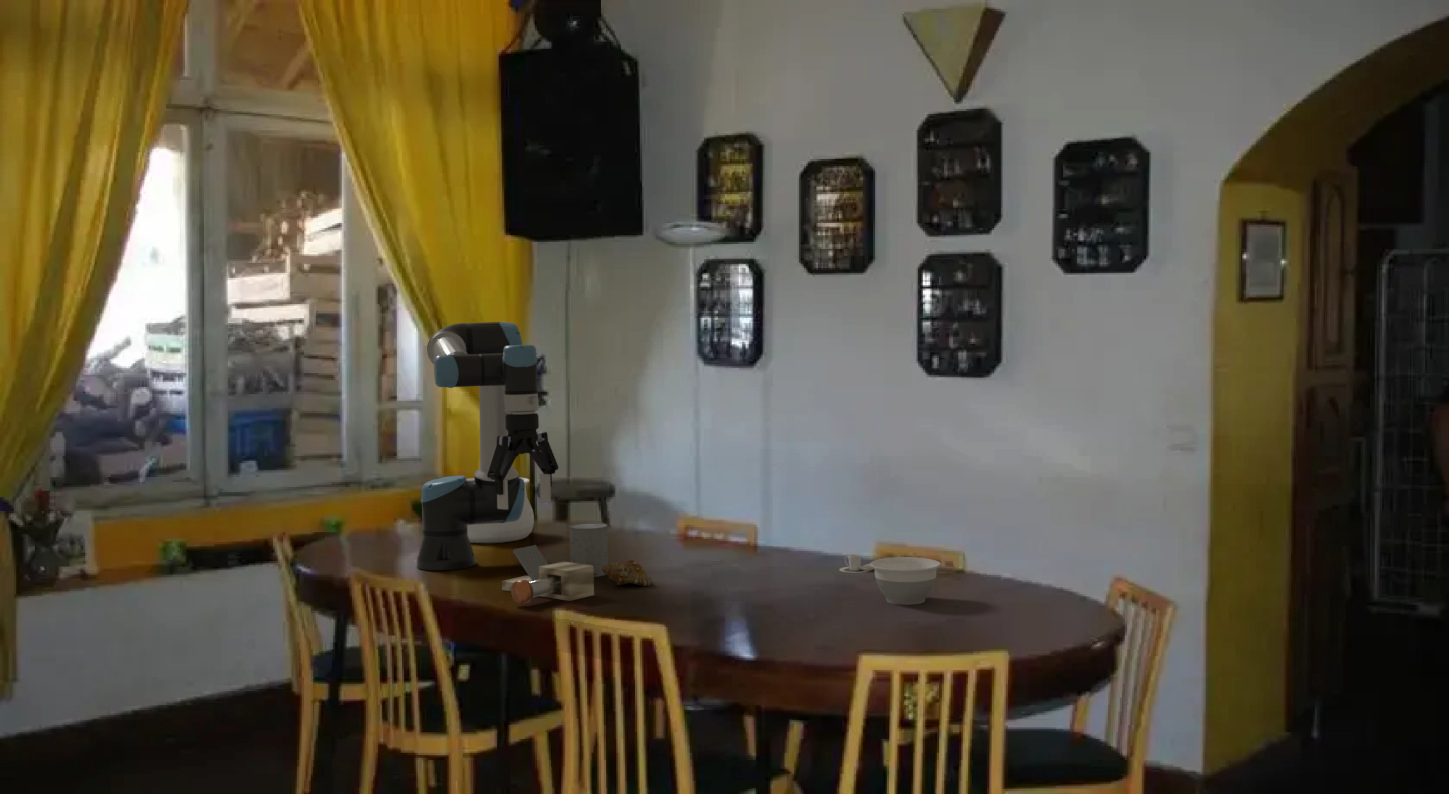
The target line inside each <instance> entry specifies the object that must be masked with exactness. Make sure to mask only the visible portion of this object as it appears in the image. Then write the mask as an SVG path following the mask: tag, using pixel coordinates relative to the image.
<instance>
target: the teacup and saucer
mask: <svg viewBox="0 0 1449 794" xmlns="http://www.w3.org/2000/svg"><path fill="white" fill-rule="evenodd" d="M846 558H847V559H848V563H847V560H846ZM844 564H845V565H846V566H845V567H840V568H839V571H840V572H843V573H849V574H850V573H851V574H852V573H853V574H854V573H855V574H860V573H861V574H862V573H867V572H870V571H873V570H874V568H873V567H871V566H870V563H869V564H863V565H862V566H861V564H862V555H861V554H849V555H847V556H845V557H844ZM847 569H849V570H850V571H847ZM860 569H861V570H862V571H860Z"/></svg>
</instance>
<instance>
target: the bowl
mask: <svg viewBox="0 0 1449 794" xmlns="http://www.w3.org/2000/svg"><path fill="white" fill-rule="evenodd" d="M869 564H870V566H871V567H873V568H874V569H873V570H874V576H875V577H874V578H875V582H876V584H877V585H878V588H879V590H880V592H881V593H882V594H883V596H884V597H885V599H886V602H887V603H889V604H893V605H900V606H901V605H902V606H903V605H905V606H907V605H908V606H909V605H911V606H912V605H920V604H923V603H925V602H926V598H927V596H928V595H929V594H930V592H931V591H932V589H933V587H934V585H935V582H936V578H937V569H939V568H940V567H941V566H942V564H941V562H939V561H938V560H936V559H935V560H934V559H932V558H925V557H924V558H923V557H916V556H915V557H912V556H911V557H910V556H909V557H908V556H907V557H906V556H903V557H902V556H897V557H887V558H886V557H885V558H884V557H883V558H879V559H875V560H873V561H871V562H869Z"/></svg>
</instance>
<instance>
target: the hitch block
mask: <svg viewBox="0 0 1449 794" xmlns="http://www.w3.org/2000/svg"><path fill="white" fill-rule="evenodd" d="M548 564H549V565H544V566H540V567H539V580H541V579H546V578H550V577H555V576H561V591H558V592H554V593H550V594H546V595H541V596H540V597H543V598H549V599H555V600H562V601H569V602H571V601H575V600H579V599H584V598H587V597H592V596H595V585H594V583H595V582H594V580H595V577H594V574H593V566H592V565H585V564H578V563H571V561H570V562H569V561H559V562H554V563H548ZM520 580H527V581H528V582H532V580H531V578H530V577H529V575H523V576H519V577H513V578H510V579H505V580H501V589H502V591H506V592H511V587H512V585H513V583H514V582H516V581H520Z"/></svg>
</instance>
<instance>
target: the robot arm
mask: <svg viewBox="0 0 1449 794" xmlns="http://www.w3.org/2000/svg"><path fill="white" fill-rule="evenodd" d="M522 340H523V339H522V335H521V331H520V329H519V326H518V325H517V324H516V323H514V322H505V321H503V322H502V321H492V322H491V321H490V322H470V323H469V322H468V323H467V322H466V323H465V322H460V323H454V324H451V325H448V326H447V325H446V326H445V327H443V328H441V329H439V330H437V331H436V332H434V334H432V336H431V337H430V339H429V341H427V346H426V351H427V352H426V354H427V357H428V359H429V361H430V362H431V363H432V365H433V373H434V374H433V375H434V384H435V385H436V386H437V387H438V388H448V389H453V388H463V387H465V388H466V387H467V388H469V387H479V388H478V389H479V391H478V393H479V394H478V396H479V398H478V399H479V466H480V467H479V468H478V469H477V470H476V471H475V472H474V475H473V476H474V477H473V478H474V481H467V479H468V478H466V476H465V475H452V476H445V477H443V476H442V477H440V478H435V479H432V480H428V481H427V482H425V483H424V484H423V485H422V487H421V499H420V502H421V509H422V510H421V511H422V512H421V515H422V516H421V517H422V540H421V543H420V548H419V552H418V556H417V558H416V567H417V569H419V570H427V571H450V570H451V571H452V570H453V571H454V570H460V569H467V568H471V567H473V566H474V565H476V556H475V553H474V550H473V546H472V543H470V541H469V538H468V531H467V525H474V524H490V523H506V522H514V521H517V520H518V519H519V518H520V516H521V514H522V511H523V506H524V498H525V492H524V491H525V484H524V480H523V479H522V478H523V477H520V476H519V475H520V474H519V472H518V470H517V469H515V468H514V462H515V460H516V458H517V457H519V456H520V455H524V454H529V455H530V456H531V458H532V459H533V461H534V462H535V464H536V465H537V466H538V468H539V470H540V471H541V472H542V473H540V474H539V496H540V497H539V498H540V499H539V500H540V501H539V502H540V503H548V504H549V503H552V489H551V488H552V487H553V476H552V474H553V475H554V474H555V473H556V471H558V470H559V464H558V463H557V460H556V457H555V455H554V452H553V450H552V448H551V447H552V446H551V445H550V442H549V436H548V432H547V431H537V430H538V429H539V427H540V426H539V425H540V421H539V414H538V413H537V411H538V410H539V398H538V395H539V394H538V393H539V392H538V357H537V348H536V346H535V345H532V344H523V341H522ZM519 477H520V478H519Z"/></svg>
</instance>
